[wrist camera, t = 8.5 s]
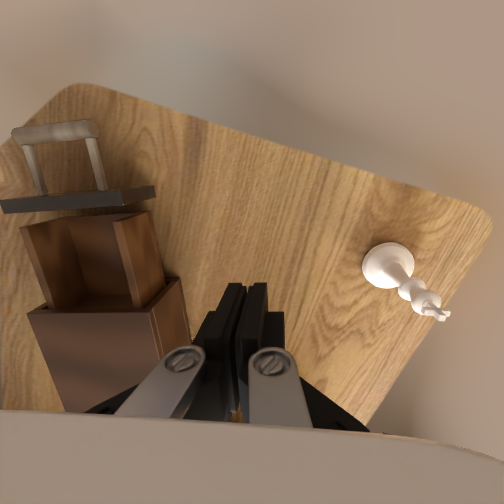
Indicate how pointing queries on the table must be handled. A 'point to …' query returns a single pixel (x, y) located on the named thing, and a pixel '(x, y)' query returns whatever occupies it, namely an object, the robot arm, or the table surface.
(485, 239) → the table surface
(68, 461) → the robot arm
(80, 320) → the cabinet
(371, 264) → the chess piece
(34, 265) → the drawer
